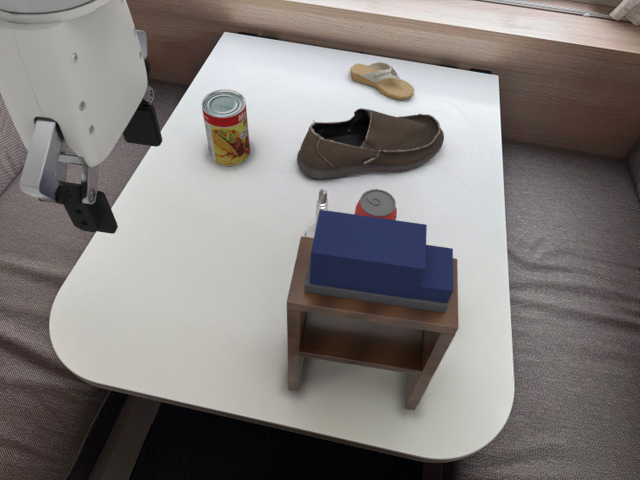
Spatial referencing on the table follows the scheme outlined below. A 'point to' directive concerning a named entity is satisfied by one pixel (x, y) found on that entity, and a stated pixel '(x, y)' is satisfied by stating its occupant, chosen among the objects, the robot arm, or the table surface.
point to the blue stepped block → (378, 262)
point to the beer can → (377, 205)
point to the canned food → (226, 127)
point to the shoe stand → (366, 332)
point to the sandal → (382, 80)
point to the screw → (321, 205)
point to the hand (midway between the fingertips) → (122, 182)
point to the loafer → (369, 144)
